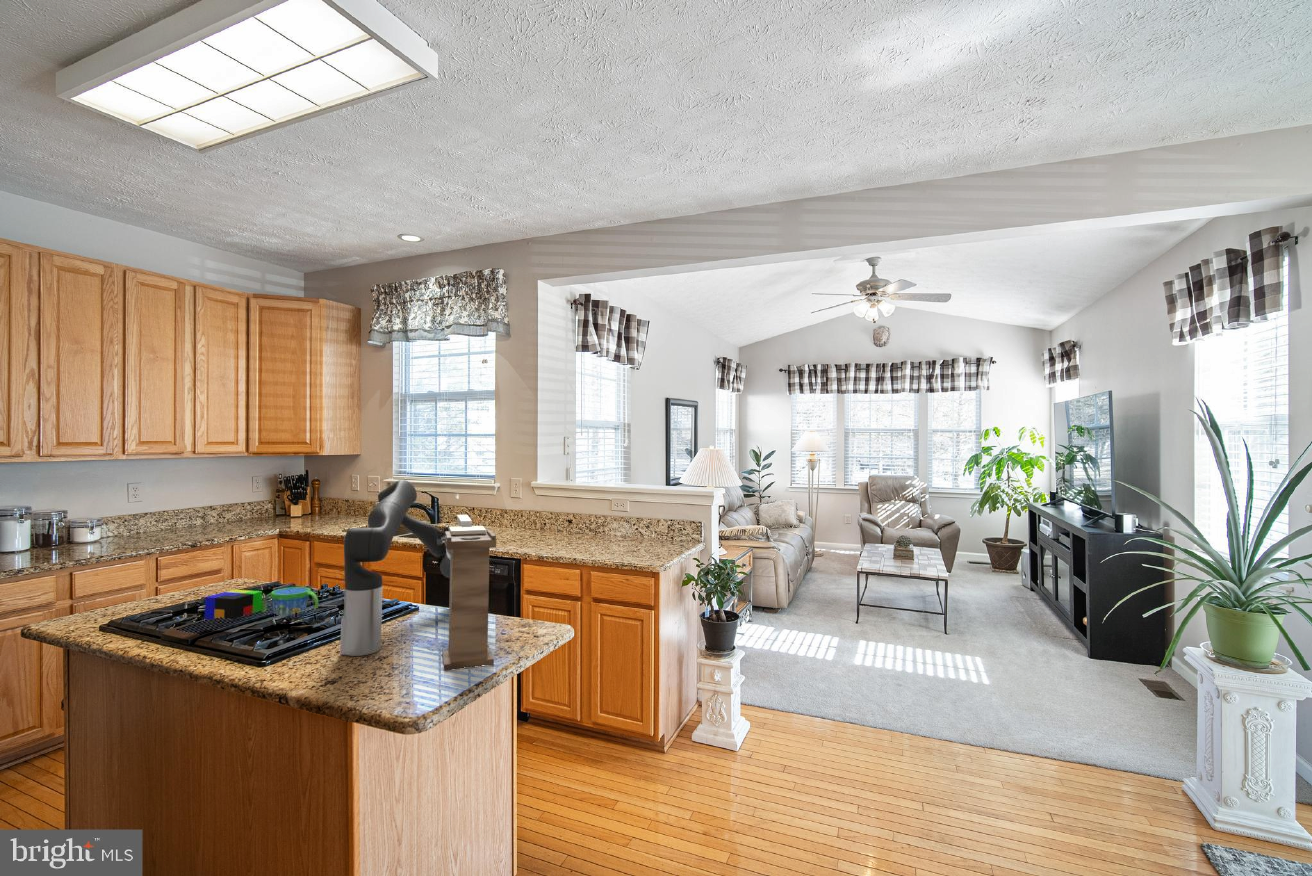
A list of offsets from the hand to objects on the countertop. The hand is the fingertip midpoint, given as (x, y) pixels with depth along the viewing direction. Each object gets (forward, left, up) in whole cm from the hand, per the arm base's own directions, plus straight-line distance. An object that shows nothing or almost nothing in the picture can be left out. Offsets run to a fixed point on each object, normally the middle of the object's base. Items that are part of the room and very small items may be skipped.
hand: (461, 528), depth 187 cm
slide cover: (+3, -16, +2) cm, 16 cm away
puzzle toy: (-67, +7, -30) cm, 74 cm away
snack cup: (-52, +9, -30) cm, 61 cm away
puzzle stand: (+7, -32, -30) cm, 45 cm away
